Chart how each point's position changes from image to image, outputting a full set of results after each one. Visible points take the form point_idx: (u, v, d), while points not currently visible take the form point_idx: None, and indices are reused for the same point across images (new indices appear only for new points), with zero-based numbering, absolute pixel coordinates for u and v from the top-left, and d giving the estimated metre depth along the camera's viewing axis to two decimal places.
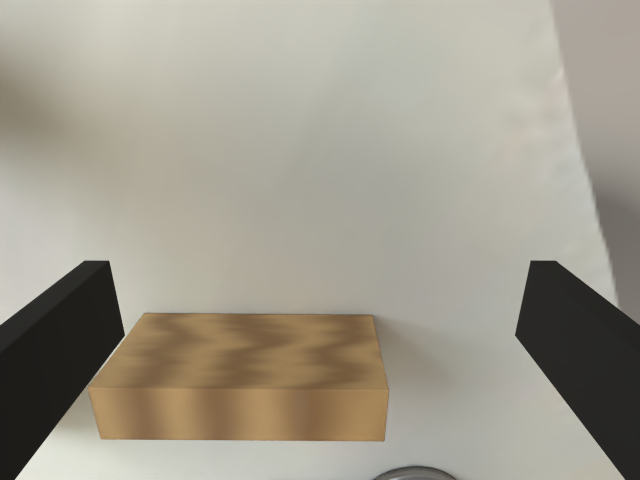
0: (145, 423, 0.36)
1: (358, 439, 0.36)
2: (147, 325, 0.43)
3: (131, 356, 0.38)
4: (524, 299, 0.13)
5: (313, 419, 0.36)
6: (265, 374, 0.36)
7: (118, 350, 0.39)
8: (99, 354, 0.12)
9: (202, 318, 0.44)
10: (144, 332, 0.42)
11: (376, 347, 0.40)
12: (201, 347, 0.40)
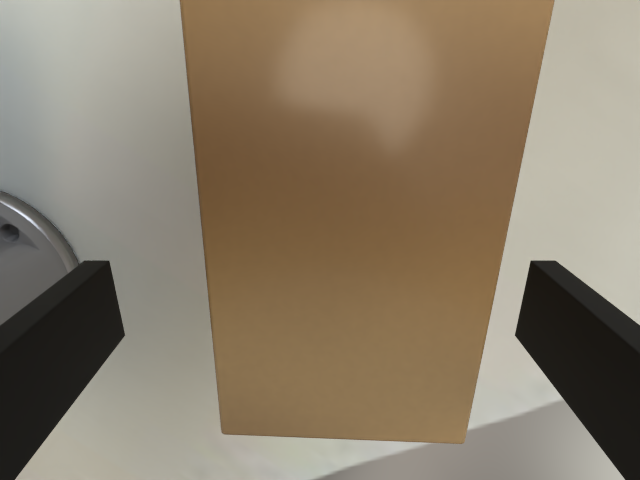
0: None
1: (223, 355, 0.09)
2: None
3: None
4: (524, 300, 0.13)
5: (338, 174, 0.07)
6: None
7: None
8: (99, 354, 0.12)
9: None
10: None
11: None
12: None
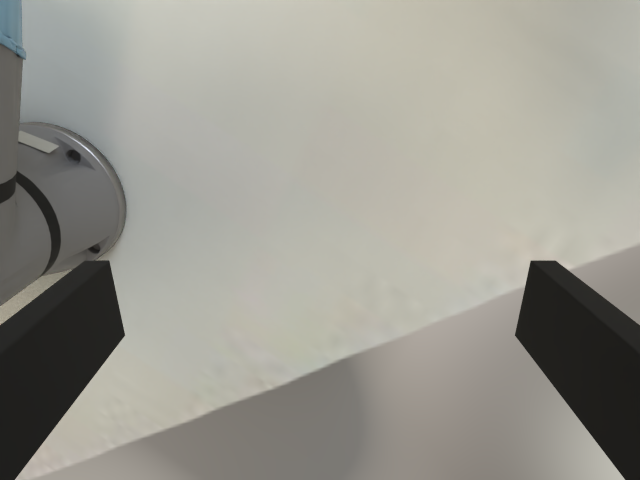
0: None
1: None
2: None
3: None
4: (524, 300, 0.13)
5: None
6: None
7: None
8: (99, 354, 0.12)
9: None
10: None
11: None
12: None
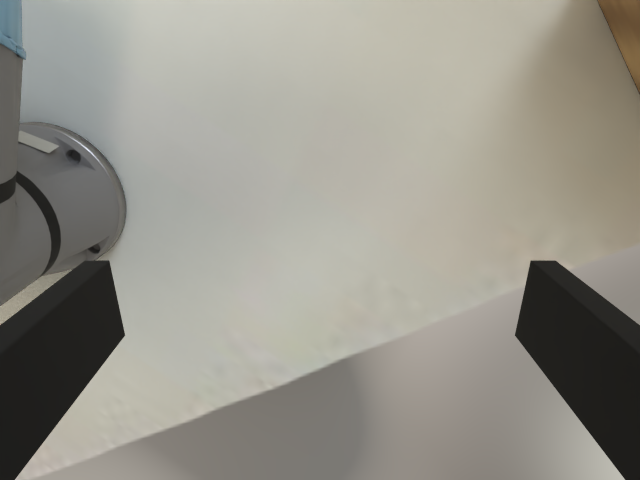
0: None
1: None
2: None
3: None
4: (523, 300, 0.13)
5: None
6: None
7: None
8: (99, 354, 0.12)
9: None
10: None
11: None
12: None
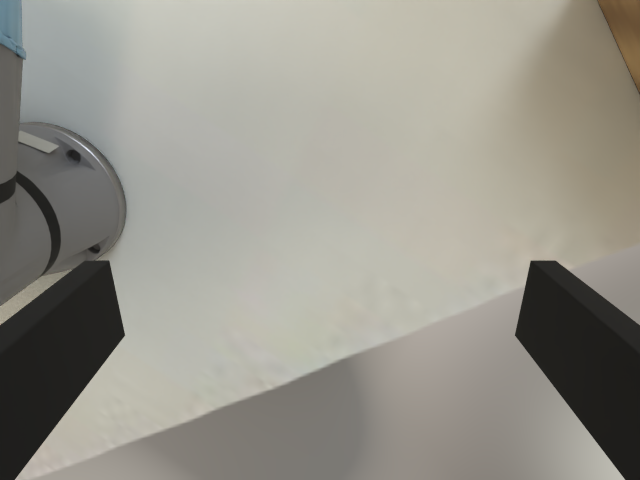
0: None
1: None
2: None
3: None
4: (523, 300, 0.13)
5: None
6: None
7: None
8: (99, 354, 0.12)
9: None
10: None
11: None
12: None
